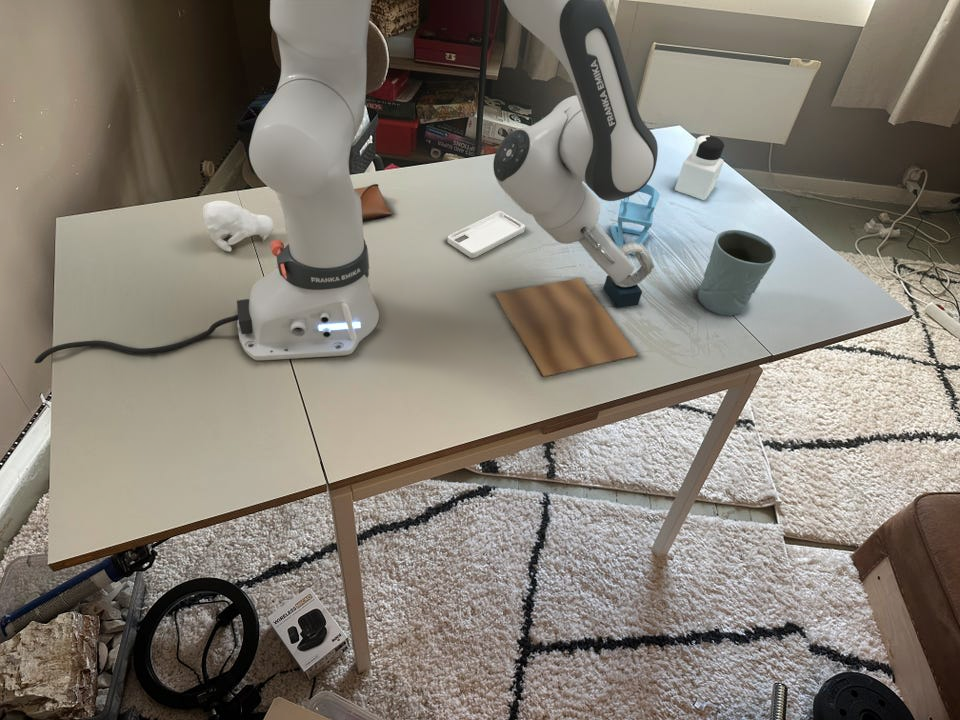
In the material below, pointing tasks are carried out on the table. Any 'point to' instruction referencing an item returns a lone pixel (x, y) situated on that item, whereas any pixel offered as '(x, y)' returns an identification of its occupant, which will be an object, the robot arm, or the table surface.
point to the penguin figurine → (234, 223)
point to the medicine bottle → (701, 168)
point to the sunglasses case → (372, 203)
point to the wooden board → (564, 327)
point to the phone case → (486, 234)
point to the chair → (635, 217)
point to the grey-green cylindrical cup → (734, 271)
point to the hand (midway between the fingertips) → (612, 255)
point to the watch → (629, 278)
